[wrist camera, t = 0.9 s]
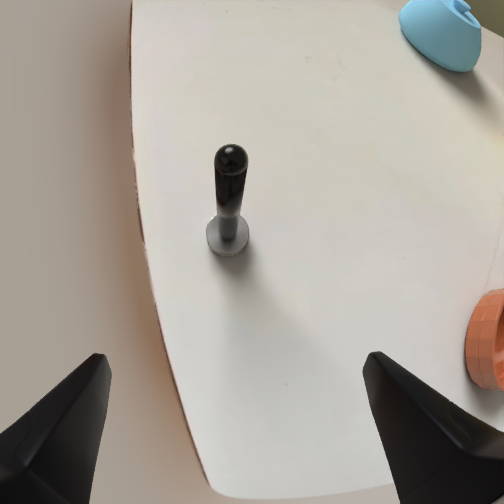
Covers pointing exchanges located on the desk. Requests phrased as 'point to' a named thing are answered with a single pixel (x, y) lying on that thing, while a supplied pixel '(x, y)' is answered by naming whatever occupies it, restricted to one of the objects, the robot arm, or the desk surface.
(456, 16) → the sugar bowl
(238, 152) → the black rod on stand
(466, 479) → the robot arm
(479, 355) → the bowl
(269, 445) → the desk surface
